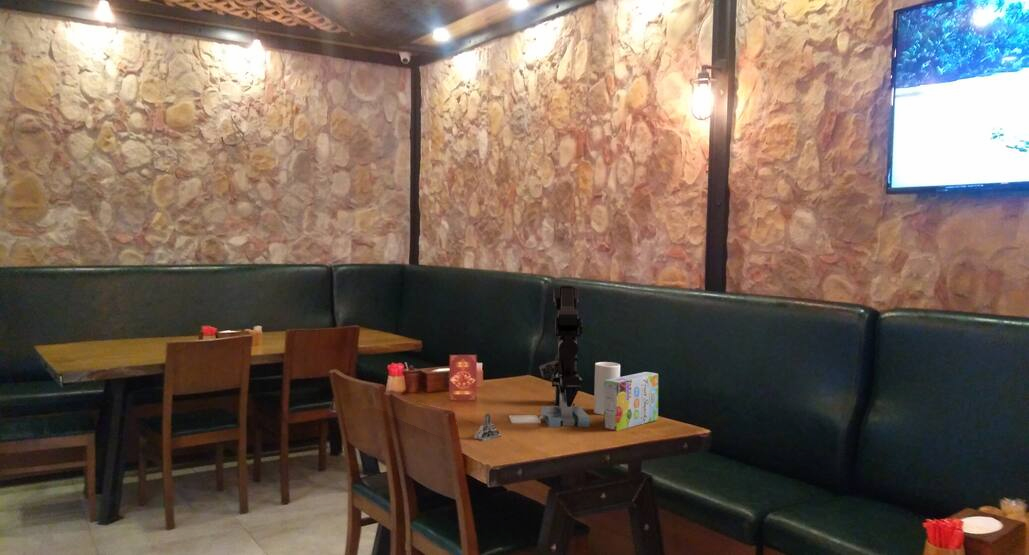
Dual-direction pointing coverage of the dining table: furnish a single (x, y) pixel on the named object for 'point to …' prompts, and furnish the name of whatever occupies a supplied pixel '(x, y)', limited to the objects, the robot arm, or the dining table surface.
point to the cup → (603, 373)
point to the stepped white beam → (565, 412)
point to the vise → (554, 419)
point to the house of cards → (487, 430)
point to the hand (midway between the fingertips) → (566, 403)
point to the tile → (524, 419)
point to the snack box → (630, 400)
